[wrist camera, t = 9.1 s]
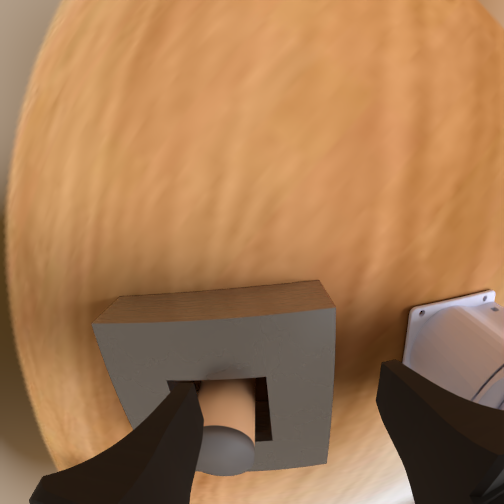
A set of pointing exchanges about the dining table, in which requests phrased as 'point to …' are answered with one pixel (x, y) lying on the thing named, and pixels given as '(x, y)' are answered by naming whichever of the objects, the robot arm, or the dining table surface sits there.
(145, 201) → the dining table surface
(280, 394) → the block
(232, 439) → the pin
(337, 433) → the dining table surface
